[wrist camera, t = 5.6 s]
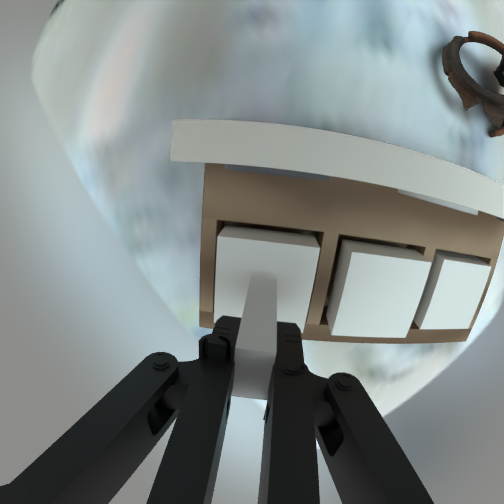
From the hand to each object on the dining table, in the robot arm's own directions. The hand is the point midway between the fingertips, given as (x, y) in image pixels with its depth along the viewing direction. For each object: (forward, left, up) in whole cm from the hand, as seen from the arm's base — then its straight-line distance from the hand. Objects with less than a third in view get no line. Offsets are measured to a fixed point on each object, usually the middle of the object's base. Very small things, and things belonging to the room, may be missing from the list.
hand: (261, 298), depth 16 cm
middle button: (0, +8, -4) cm, 9 cm away
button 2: (0, +16, -5) cm, 17 cm away
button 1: (0, 0, -4) cm, 4 cm away
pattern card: (-8, +8, -3) cm, 12 cm away
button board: (-3, +8, -7) cm, 11 cm away
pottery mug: (-20, +19, -7) cm, 28 cm away
